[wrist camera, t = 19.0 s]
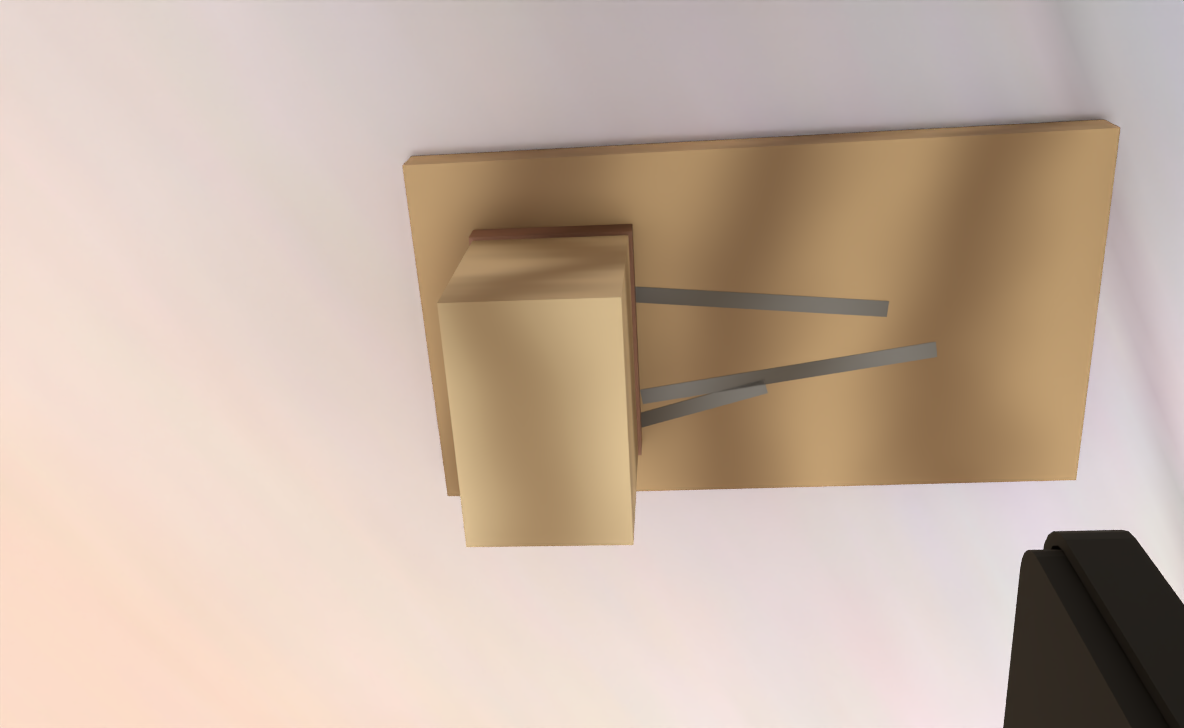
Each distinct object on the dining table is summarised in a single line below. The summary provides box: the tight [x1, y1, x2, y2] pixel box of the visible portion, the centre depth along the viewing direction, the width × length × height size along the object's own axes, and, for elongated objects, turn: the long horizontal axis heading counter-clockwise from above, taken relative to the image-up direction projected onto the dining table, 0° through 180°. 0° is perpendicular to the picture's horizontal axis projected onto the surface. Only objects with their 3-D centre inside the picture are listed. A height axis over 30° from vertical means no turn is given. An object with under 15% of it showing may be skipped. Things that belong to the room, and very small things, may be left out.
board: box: [402, 120, 1120, 496], centre depth 33 cm, size 20×11×1 cm, turn 94°
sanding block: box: [437, 224, 642, 547], centre depth 30 cm, size 5×7×6 cm, turn 3°
